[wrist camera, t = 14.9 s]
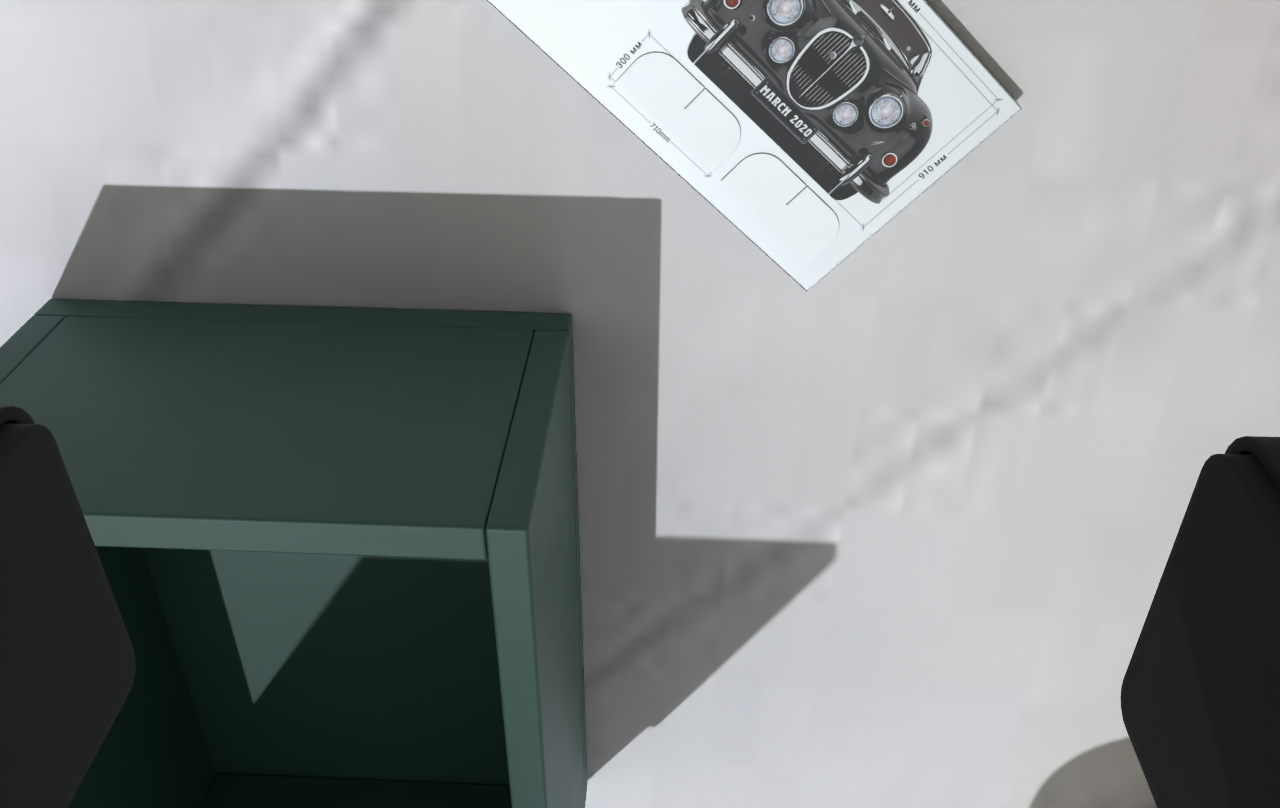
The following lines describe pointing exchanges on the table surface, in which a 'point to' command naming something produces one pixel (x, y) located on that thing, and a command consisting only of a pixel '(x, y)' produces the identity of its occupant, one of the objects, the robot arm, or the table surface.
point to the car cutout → (782, 105)
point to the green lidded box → (325, 548)
